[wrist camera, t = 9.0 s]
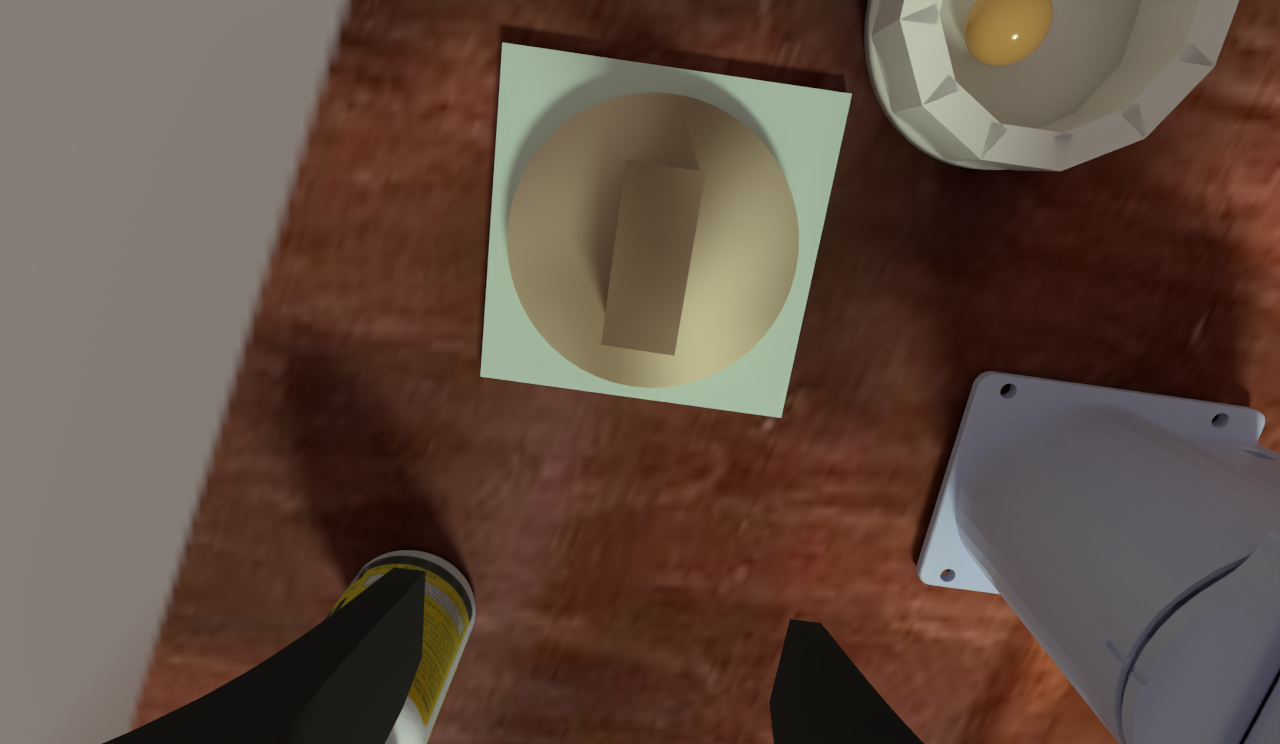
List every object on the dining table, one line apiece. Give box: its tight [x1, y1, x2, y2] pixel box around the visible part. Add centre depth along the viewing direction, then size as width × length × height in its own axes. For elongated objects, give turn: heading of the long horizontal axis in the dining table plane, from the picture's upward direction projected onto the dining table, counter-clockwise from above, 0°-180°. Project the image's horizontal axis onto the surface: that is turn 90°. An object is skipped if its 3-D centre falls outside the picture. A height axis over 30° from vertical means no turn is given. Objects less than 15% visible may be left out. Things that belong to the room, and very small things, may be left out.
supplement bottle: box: [324, 550, 476, 744], centre depth 21 cm, size 5×5×8 cm
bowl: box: [864, 0, 1239, 171], centre depth 17 cm, size 8×8×3 cm
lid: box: [507, 92, 799, 388], centre depth 19 cm, size 9×9×3 cm
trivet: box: [480, 42, 852, 418], centre depth 20 cm, size 10×10×1 cm
